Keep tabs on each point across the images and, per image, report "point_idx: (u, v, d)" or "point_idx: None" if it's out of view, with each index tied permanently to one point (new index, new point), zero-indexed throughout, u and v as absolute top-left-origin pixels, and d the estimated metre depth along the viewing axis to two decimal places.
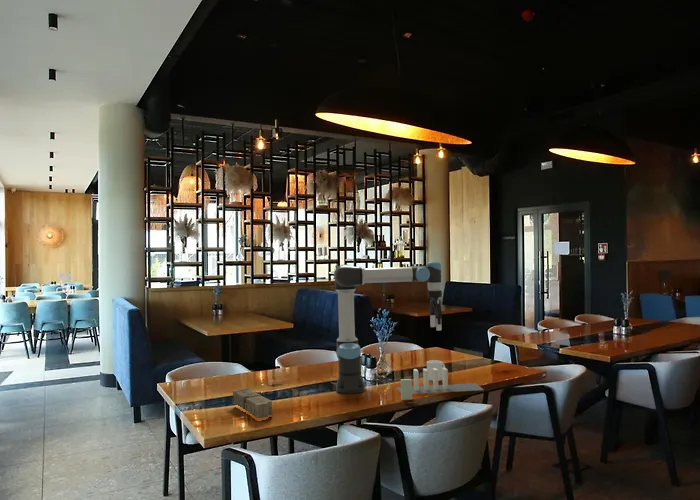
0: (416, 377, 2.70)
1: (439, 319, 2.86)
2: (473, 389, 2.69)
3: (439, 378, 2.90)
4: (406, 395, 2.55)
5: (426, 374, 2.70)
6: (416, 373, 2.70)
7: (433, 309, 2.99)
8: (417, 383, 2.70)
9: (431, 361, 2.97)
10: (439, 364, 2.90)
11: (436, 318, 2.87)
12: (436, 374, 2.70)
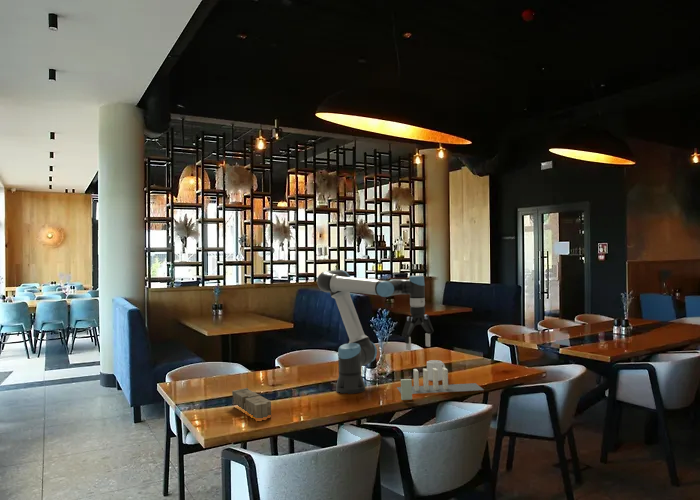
0: (416, 377, 2.70)
1: (406, 338, 2.66)
2: (473, 389, 2.69)
3: (439, 378, 2.90)
4: (406, 395, 2.55)
5: (426, 374, 2.70)
6: (416, 373, 2.70)
7: (424, 327, 2.74)
8: (417, 383, 2.70)
9: (431, 361, 2.97)
10: (439, 364, 2.90)
11: (404, 336, 2.68)
12: (436, 374, 2.70)
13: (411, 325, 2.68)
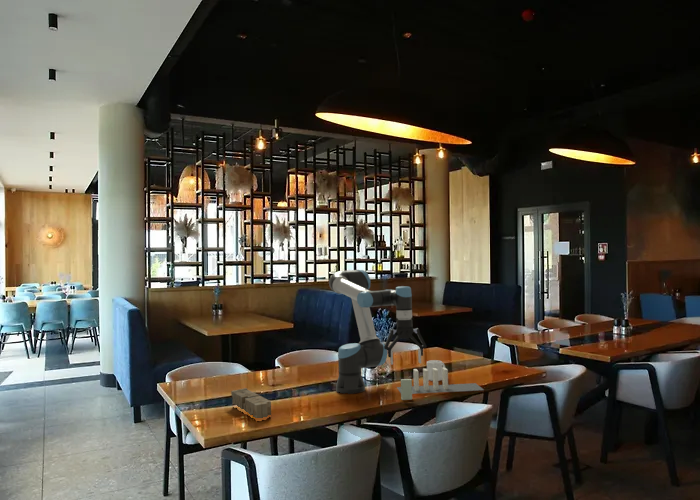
0: (416, 377, 2.70)
1: (388, 351, 2.55)
2: (473, 389, 2.69)
3: (439, 378, 2.90)
4: (406, 395, 2.55)
5: (426, 374, 2.70)
6: (416, 373, 2.70)
7: (414, 341, 2.56)
8: (417, 383, 2.70)
9: (431, 361, 2.97)
10: (439, 364, 2.90)
11: None
12: (436, 374, 2.70)
13: (395, 338, 2.55)
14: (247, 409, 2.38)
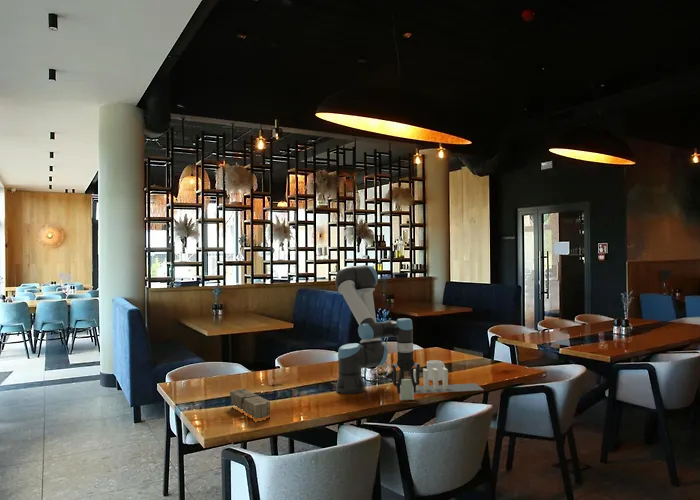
0: None
1: (397, 387, 2.55)
2: (473, 389, 2.69)
3: (439, 378, 2.90)
4: (406, 395, 2.55)
5: (426, 374, 2.70)
6: None
7: (410, 376, 2.56)
8: None
9: (431, 361, 2.97)
10: (439, 364, 2.90)
11: None
12: (436, 374, 2.70)
13: (399, 373, 2.55)
14: (246, 409, 2.37)
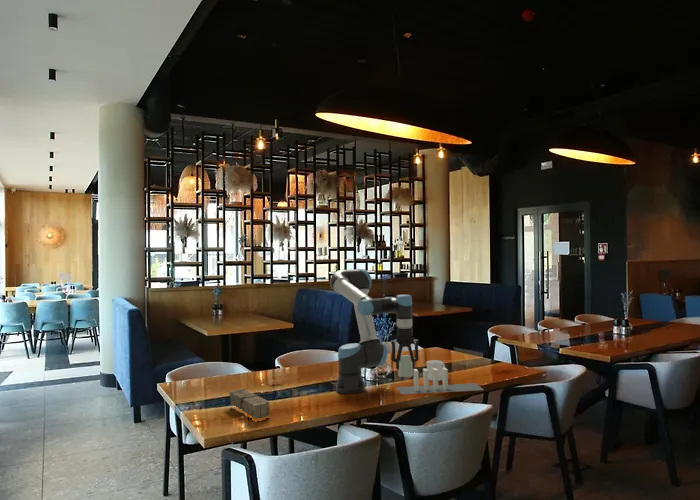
0: (416, 377, 2.70)
1: (396, 363, 2.55)
2: (473, 389, 2.69)
3: (439, 378, 2.90)
4: (405, 371, 2.55)
5: (426, 374, 2.70)
6: (416, 373, 2.70)
7: (409, 352, 2.56)
8: (417, 383, 2.70)
9: (431, 361, 2.97)
10: (439, 364, 2.90)
11: None
12: (436, 374, 2.70)
13: (398, 349, 2.55)
14: (245, 409, 2.37)
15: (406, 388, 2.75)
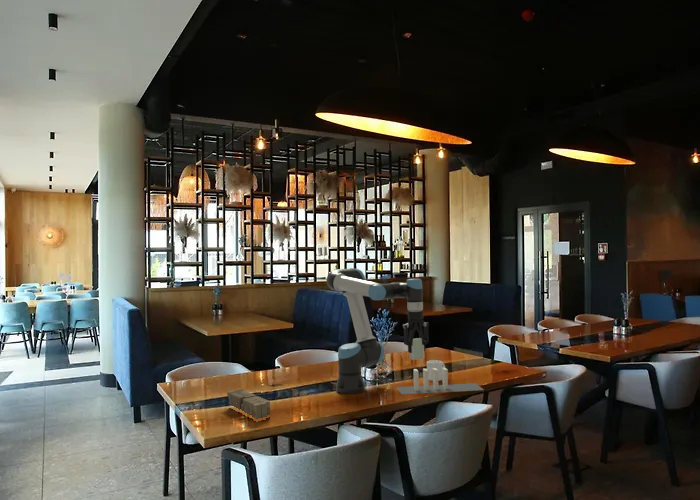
0: (416, 377, 2.70)
1: (408, 347, 2.57)
2: (473, 389, 2.69)
3: (439, 378, 2.90)
4: (417, 354, 2.58)
5: (426, 374, 2.70)
6: (416, 373, 2.70)
7: (420, 335, 2.60)
8: (417, 383, 2.70)
9: (431, 361, 2.97)
10: (439, 364, 2.90)
11: None
12: (436, 374, 2.70)
13: (410, 332, 2.58)
14: (245, 409, 2.37)
15: (406, 388, 2.75)
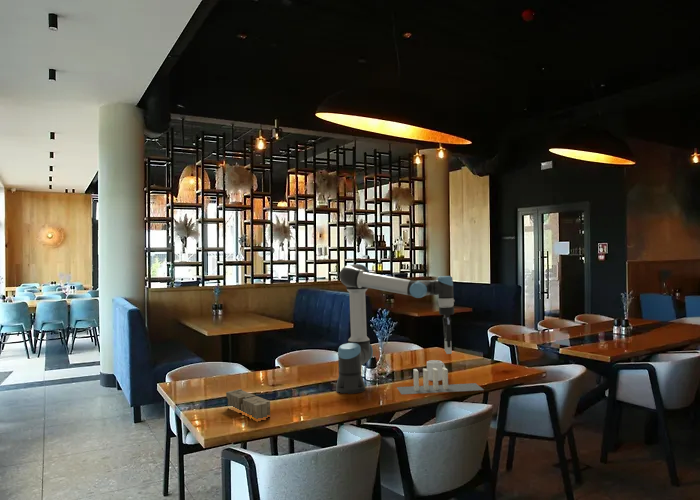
0: (416, 377, 2.70)
1: (449, 341, 2.66)
2: (473, 389, 2.69)
3: (439, 378, 2.90)
4: None
5: (426, 374, 2.70)
6: (416, 373, 2.70)
7: None
8: (417, 383, 2.70)
9: (431, 361, 2.97)
10: (439, 364, 2.90)
11: (445, 340, 2.67)
12: (436, 374, 2.70)
13: None
14: (245, 410, 2.37)
15: (406, 388, 2.75)
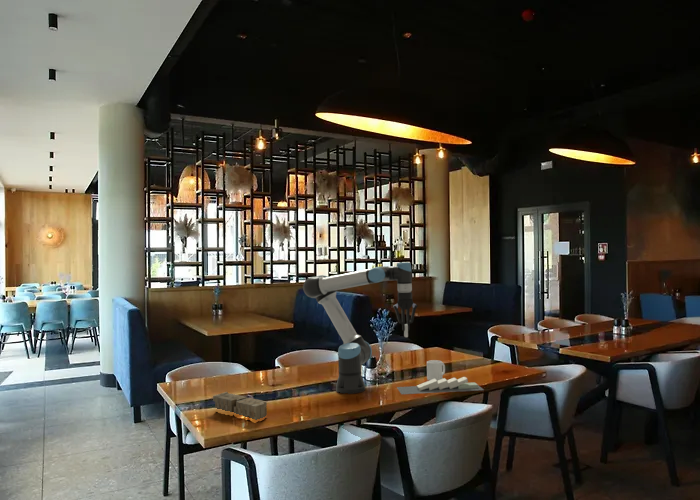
0: (431, 384, 2.70)
1: (402, 325, 2.80)
2: (473, 389, 2.69)
3: (439, 378, 2.90)
4: None
5: (444, 382, 2.71)
6: (435, 382, 2.70)
7: (406, 314, 2.80)
8: (426, 386, 2.70)
9: (431, 361, 2.97)
10: (439, 364, 2.90)
11: None
12: (453, 382, 2.71)
13: None
14: (240, 412, 2.34)
15: (406, 388, 2.75)
